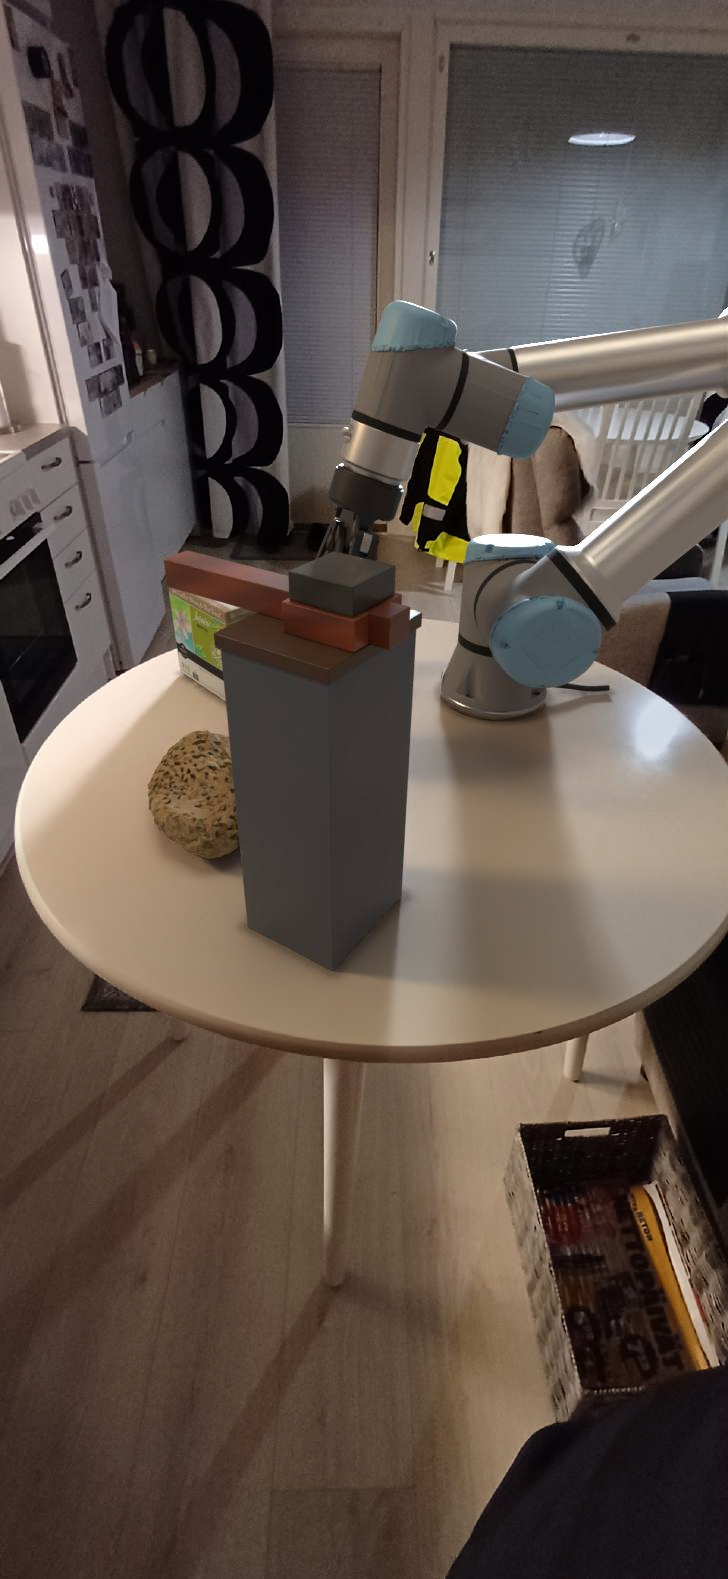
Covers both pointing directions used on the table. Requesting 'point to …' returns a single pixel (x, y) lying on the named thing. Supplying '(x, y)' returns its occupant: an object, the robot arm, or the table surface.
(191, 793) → the sponge
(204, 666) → the tea box
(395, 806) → the pedestal
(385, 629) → the brush
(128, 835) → the table surface
